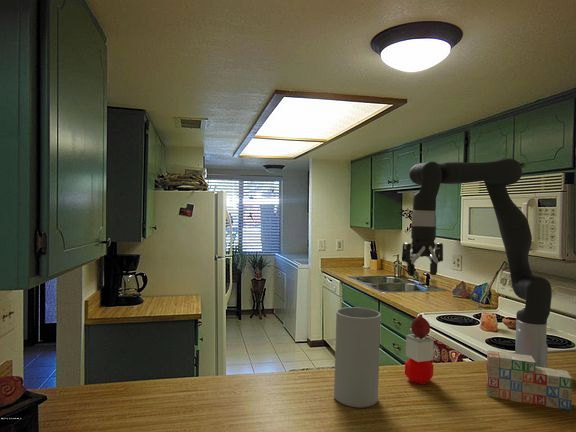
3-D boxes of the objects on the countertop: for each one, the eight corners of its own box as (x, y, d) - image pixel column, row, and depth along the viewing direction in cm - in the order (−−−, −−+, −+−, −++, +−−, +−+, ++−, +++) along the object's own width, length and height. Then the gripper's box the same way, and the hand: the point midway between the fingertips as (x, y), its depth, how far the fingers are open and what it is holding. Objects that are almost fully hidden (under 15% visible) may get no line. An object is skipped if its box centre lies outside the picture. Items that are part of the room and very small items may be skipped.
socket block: (420, 353, 138) (421, 333, 138) (433, 360, 132) (433, 338, 132) (405, 355, 136) (406, 334, 136) (417, 362, 130) (418, 340, 130)
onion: (420, 343, 130) (419, 318, 130) (407, 338, 135) (406, 314, 135) (434, 339, 133) (433, 314, 132) (420, 334, 138) (419, 310, 138)
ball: (434, 380, 135) (435, 356, 135) (428, 388, 129) (429, 364, 129) (409, 374, 140) (410, 351, 140) (402, 382, 133) (403, 358, 133)
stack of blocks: (566, 402, 122) (568, 360, 122) (571, 411, 116) (573, 367, 116) (485, 388, 130) (487, 349, 130) (486, 396, 124) (488, 355, 124)
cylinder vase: (338, 386, 128) (340, 305, 128) (379, 393, 124) (382, 309, 124) (329, 404, 116) (332, 315, 116) (375, 412, 113) (378, 320, 112)
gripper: (433, 224, 139) (432, 272, 140) (398, 224, 134) (396, 274, 135) (449, 225, 132) (448, 276, 133) (412, 225, 127) (411, 278, 128)
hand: (422, 275), depth 134 cm, fingers open, 8 cm apart
